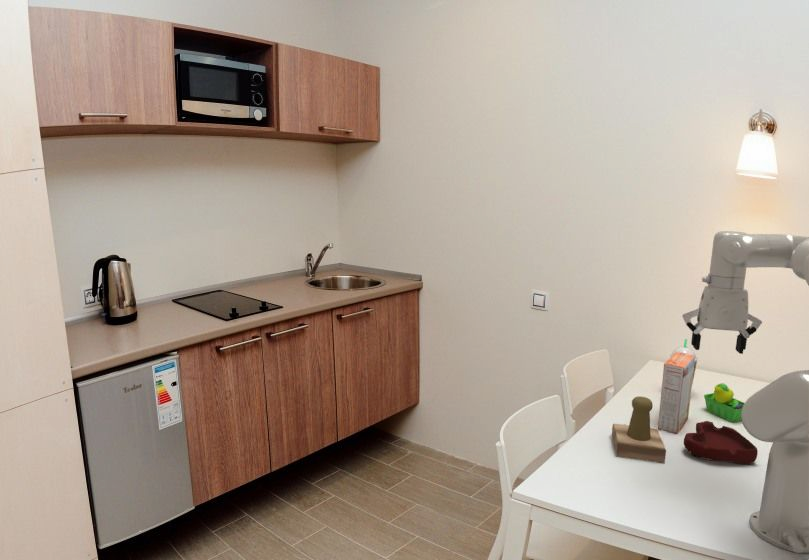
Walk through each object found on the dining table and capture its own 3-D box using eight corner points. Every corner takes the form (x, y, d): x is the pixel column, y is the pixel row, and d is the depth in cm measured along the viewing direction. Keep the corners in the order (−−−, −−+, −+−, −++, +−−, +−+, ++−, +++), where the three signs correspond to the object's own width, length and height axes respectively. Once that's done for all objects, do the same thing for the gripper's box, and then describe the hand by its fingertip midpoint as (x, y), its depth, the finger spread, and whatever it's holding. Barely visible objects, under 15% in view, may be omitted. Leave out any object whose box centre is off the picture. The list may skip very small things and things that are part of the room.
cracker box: (667, 413, 173) (675, 350, 169) (688, 418, 169) (696, 355, 165) (655, 428, 162) (663, 362, 158) (677, 434, 158) (685, 367, 154)
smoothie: (660, 392, 189) (666, 337, 186) (677, 388, 193) (683, 334, 189) (681, 401, 182) (688, 344, 178) (698, 397, 185) (705, 341, 182)
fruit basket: (750, 421, 168) (755, 387, 166) (729, 425, 165) (735, 390, 163) (717, 406, 178) (721, 374, 176) (697, 410, 175) (702, 377, 173)
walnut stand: (664, 462, 143) (666, 449, 142) (616, 456, 146) (617, 442, 145) (656, 441, 154) (657, 428, 153) (611, 435, 157) (612, 423, 156)
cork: (653, 442, 145) (657, 404, 143) (629, 439, 147) (633, 401, 144) (648, 432, 151) (652, 395, 149) (625, 429, 152) (628, 392, 150)
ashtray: (747, 478, 136) (749, 460, 135) (678, 455, 147) (680, 438, 146) (763, 453, 149) (765, 437, 148) (698, 433, 160) (700, 417, 159)
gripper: (690, 283, 129) (682, 351, 133) (772, 287, 125) (762, 358, 128) (683, 277, 137) (675, 342, 140) (760, 282, 132) (751, 349, 136)
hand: (717, 350), depth 134 cm, fingers open, 9 cm apart
